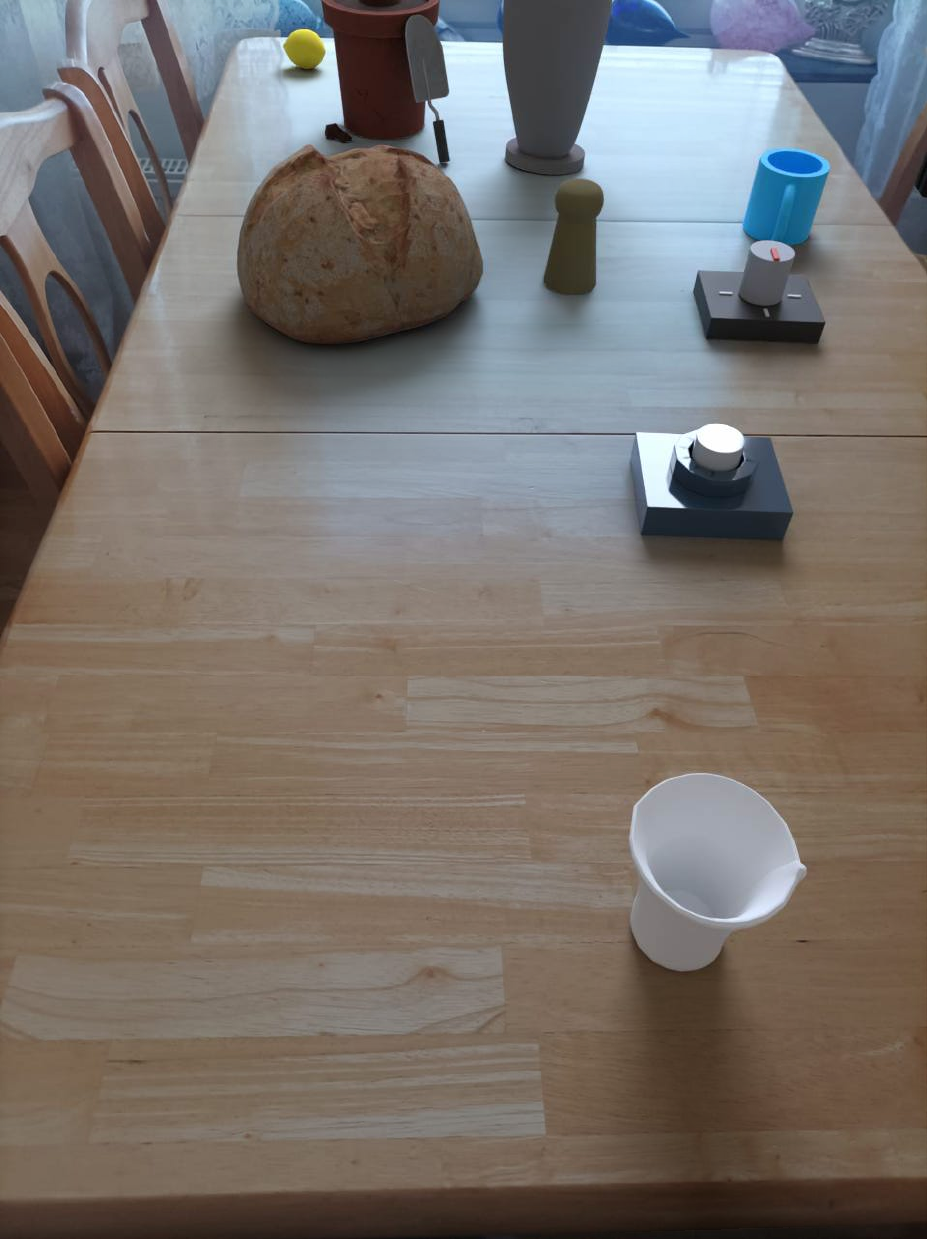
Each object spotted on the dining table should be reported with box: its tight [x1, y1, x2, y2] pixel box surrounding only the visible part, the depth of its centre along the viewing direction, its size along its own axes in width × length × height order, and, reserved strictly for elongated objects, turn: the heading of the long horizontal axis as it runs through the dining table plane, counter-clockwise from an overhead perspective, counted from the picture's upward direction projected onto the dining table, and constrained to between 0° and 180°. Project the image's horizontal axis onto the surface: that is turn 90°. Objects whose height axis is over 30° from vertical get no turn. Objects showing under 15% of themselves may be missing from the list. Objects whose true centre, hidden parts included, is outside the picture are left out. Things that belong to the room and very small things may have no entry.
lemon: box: [282, 28, 326, 70], centre depth 147 cm, size 7×5×5 cm
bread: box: [236, 143, 484, 345], centre depth 98 cm, size 26×23×15 cm
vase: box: [502, 0, 613, 176], centre depth 115 cm, size 13×13×35 cm
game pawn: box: [542, 177, 605, 296], centre depth 103 cm, size 6×6×11 cm
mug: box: [742, 147, 831, 246], centre depth 112 cm, size 12×8×8 cm
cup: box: [628, 772, 808, 972], centre depth 52 cm, size 9×9×10 cm
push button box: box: [629, 428, 794, 542], centre depth 80 cm, size 12×10×5 cm
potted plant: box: [320, 0, 451, 164], centre depth 124 cm, size 18×22×25 cm
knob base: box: [693, 269, 827, 344], centre depth 102 cm, size 12×10×3 cm
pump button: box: [692, 423, 745, 472], centre depth 78 cm, size 4×4×2 cm
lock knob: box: [739, 240, 796, 306], centre depth 99 cm, size 5×5×5 cm
